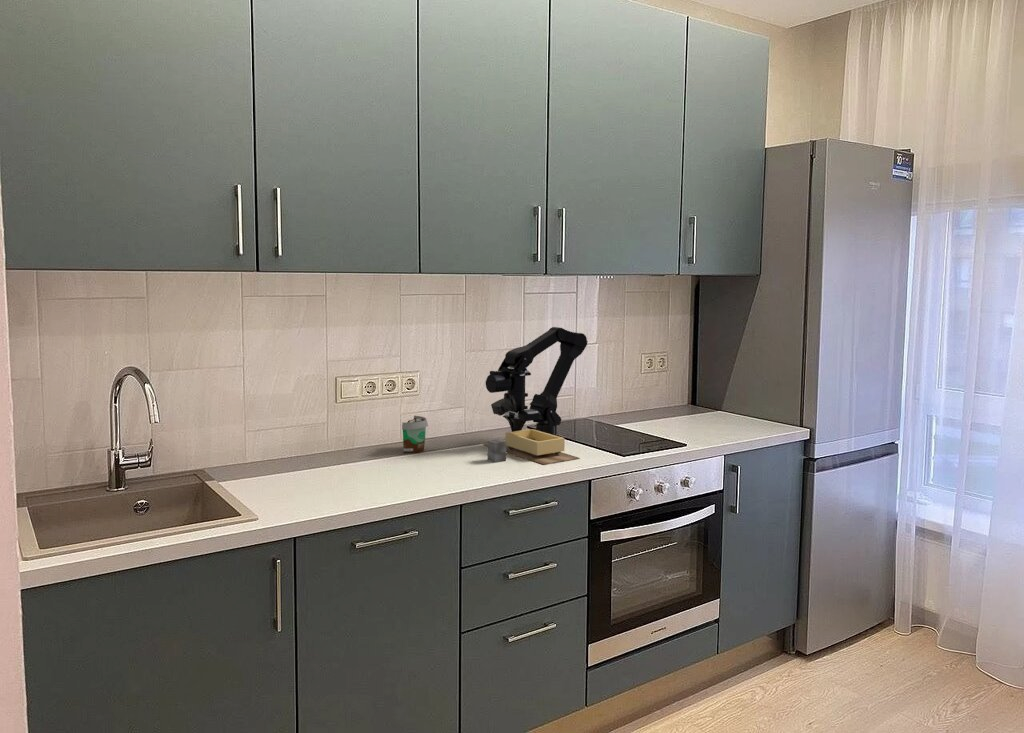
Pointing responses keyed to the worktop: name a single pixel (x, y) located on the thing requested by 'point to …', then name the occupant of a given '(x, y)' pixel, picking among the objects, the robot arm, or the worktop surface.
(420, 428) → the food container
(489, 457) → the charcoal block
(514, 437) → the wooden tray
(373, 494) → the worktop surface
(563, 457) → the brown board
